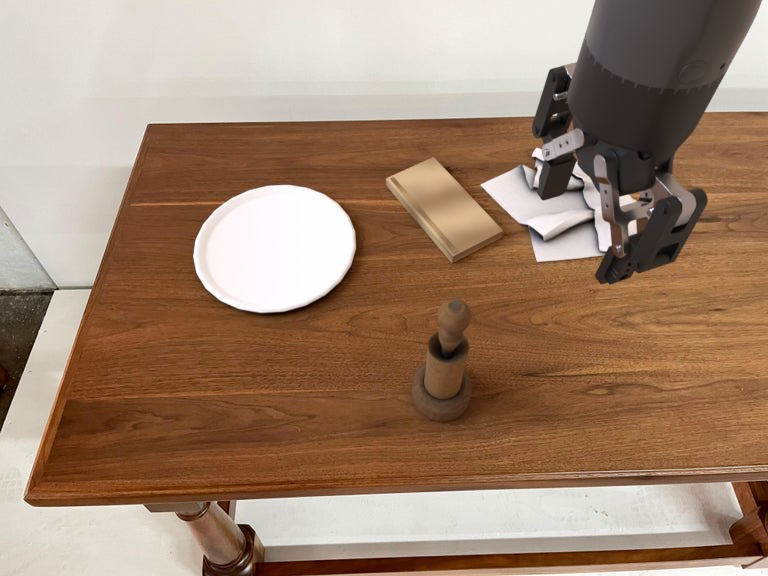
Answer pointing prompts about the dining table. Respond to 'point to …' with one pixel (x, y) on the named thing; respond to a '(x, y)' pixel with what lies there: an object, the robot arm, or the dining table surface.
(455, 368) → the mortar and pestle
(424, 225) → the cutting board
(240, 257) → the plate
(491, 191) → the cloth
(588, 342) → the dining table surface
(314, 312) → the dining table surface
